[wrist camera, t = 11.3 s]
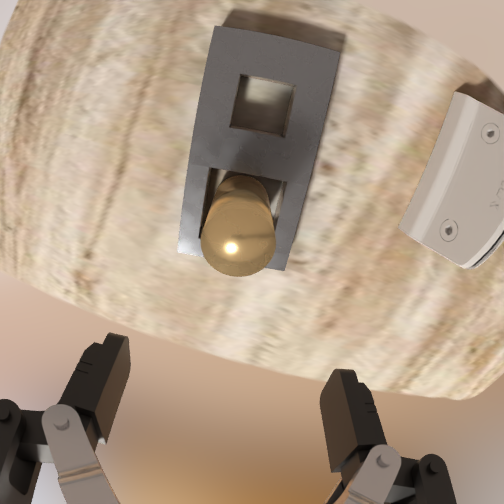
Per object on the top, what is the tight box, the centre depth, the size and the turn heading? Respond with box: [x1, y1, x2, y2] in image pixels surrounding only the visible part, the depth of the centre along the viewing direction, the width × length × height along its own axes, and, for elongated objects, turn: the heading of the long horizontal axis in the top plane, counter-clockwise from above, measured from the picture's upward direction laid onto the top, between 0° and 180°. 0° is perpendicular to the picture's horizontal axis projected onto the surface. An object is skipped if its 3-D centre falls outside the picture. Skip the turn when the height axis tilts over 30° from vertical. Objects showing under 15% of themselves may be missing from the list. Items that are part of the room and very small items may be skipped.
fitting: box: [201, 175, 276, 277], centre depth 25 cm, size 5×5×9 cm
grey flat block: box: [177, 26, 340, 271], centre depth 26 cm, size 10×20×2 cm, turn 169°
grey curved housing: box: [398, 91, 504, 269], centre depth 24 cm, size 17×5×10 cm, turn 161°
